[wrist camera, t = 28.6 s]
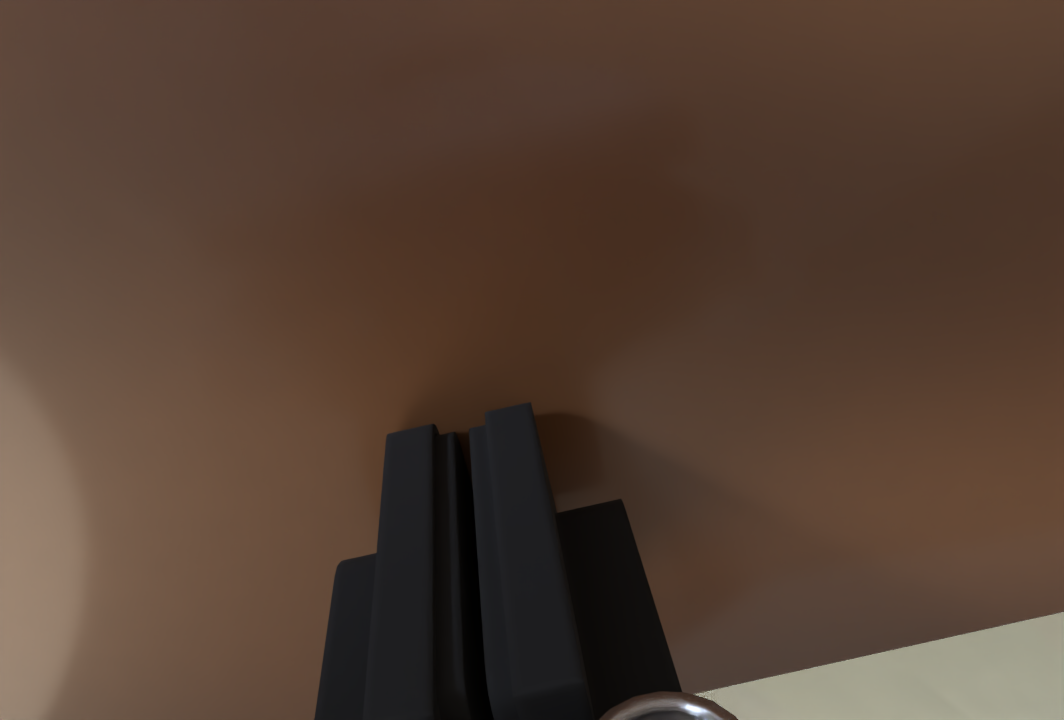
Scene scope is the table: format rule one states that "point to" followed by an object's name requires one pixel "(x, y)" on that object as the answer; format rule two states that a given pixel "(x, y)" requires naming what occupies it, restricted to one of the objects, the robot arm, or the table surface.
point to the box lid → (522, 318)
